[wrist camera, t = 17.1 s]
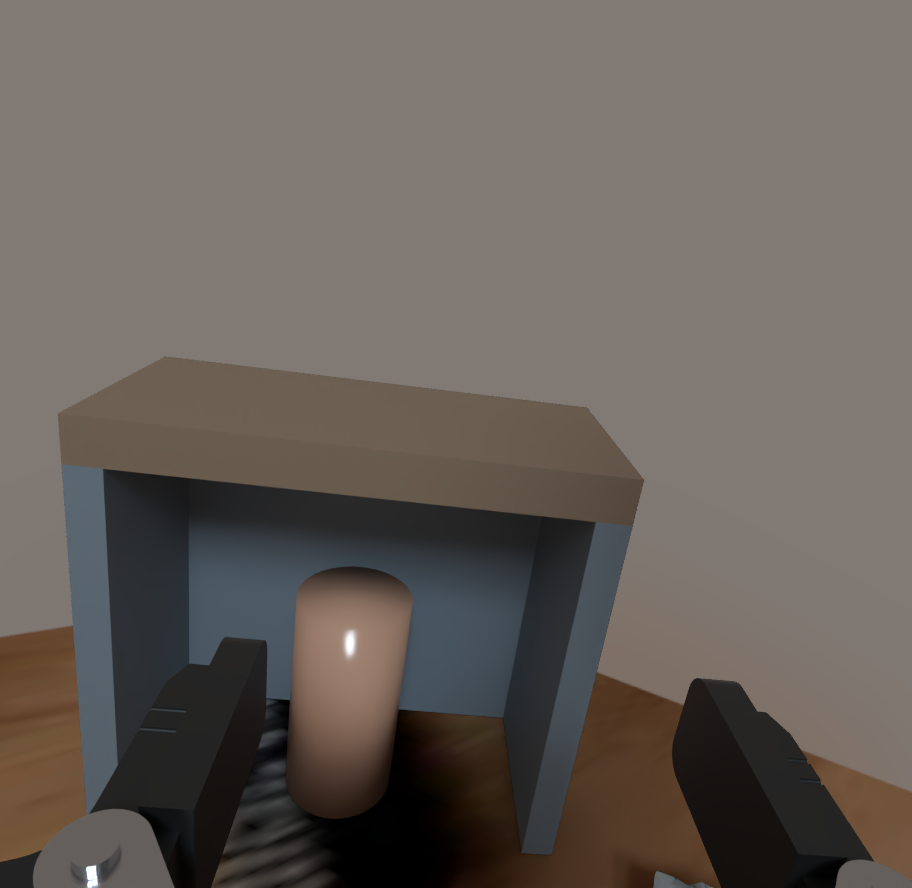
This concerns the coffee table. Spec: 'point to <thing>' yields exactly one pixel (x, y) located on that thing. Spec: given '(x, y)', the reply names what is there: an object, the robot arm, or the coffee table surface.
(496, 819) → the coffee table surface
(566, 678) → the counter
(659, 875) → the egg carton
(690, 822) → the coffee table surface
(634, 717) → the coffee table surface
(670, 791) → the coffee table surface
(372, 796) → the pinkish-brown cylinder
